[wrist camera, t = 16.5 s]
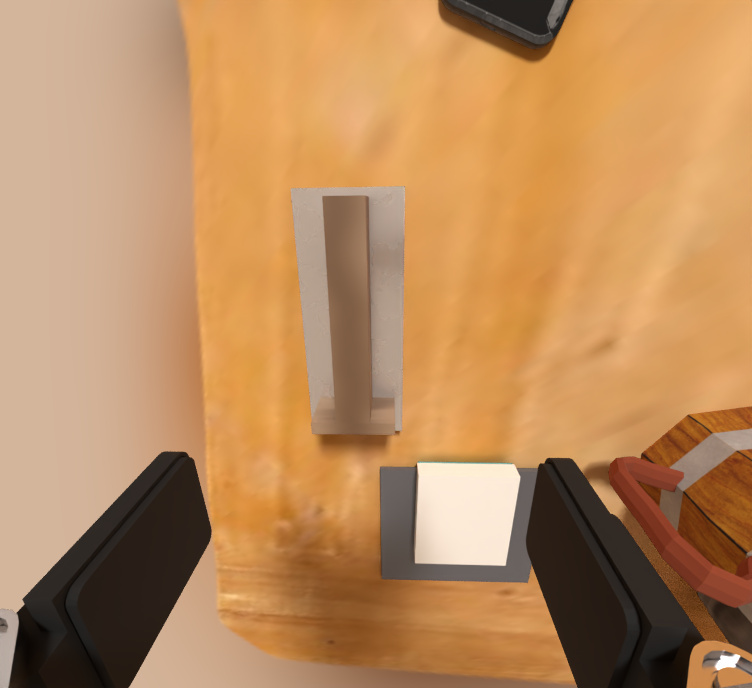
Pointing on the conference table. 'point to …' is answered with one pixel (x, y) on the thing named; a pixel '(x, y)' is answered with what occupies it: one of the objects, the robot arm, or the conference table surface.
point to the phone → (516, 18)
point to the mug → (698, 501)
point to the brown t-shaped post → (350, 325)
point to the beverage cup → (730, 622)
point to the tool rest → (383, 286)
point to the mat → (402, 566)
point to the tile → (464, 512)
